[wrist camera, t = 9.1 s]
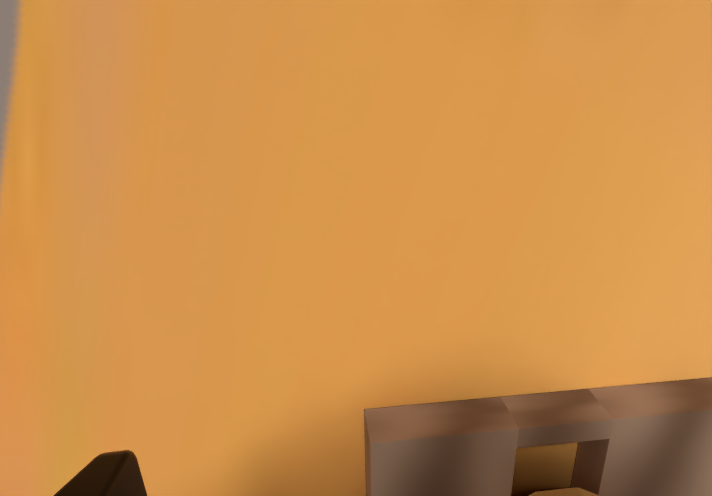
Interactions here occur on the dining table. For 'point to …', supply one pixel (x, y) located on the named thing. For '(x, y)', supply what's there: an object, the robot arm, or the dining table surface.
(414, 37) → the dining table surface
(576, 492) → the notched tan hollow cylinder
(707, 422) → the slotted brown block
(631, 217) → the dining table surface
